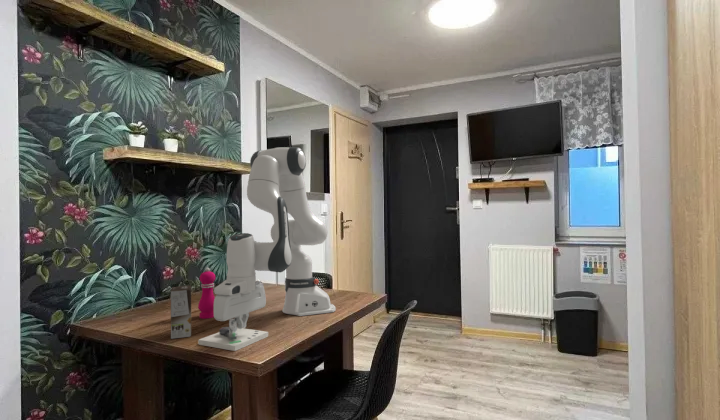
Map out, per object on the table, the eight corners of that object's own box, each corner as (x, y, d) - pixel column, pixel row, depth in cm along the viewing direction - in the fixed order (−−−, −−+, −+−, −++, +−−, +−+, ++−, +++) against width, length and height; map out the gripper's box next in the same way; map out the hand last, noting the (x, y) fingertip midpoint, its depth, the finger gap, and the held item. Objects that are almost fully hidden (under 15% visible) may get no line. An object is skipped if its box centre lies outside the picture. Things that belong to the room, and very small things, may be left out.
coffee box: (191, 336, 131) (191, 289, 131) (170, 339, 128) (170, 290, 129) (191, 329, 139) (191, 285, 140) (171, 332, 137) (171, 286, 137)
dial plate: (233, 331, 137) (233, 326, 137) (268, 336, 130) (268, 331, 130) (198, 344, 123) (198, 339, 123) (235, 351, 116) (235, 345, 116)
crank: (217, 332, 128) (217, 314, 128) (231, 330, 131) (231, 312, 131) (227, 341, 119) (227, 321, 119) (241, 338, 121) (241, 319, 121)
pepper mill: (220, 314, 161) (220, 266, 161) (212, 319, 153) (211, 268, 154) (203, 314, 161) (203, 266, 162) (194, 318, 154) (194, 268, 155)
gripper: (255, 278, 134) (256, 318, 134) (209, 289, 116) (210, 335, 116) (270, 279, 132) (270, 320, 132) (225, 291, 113) (226, 338, 113)
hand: (242, 327), depth 123 cm, fingers closed
